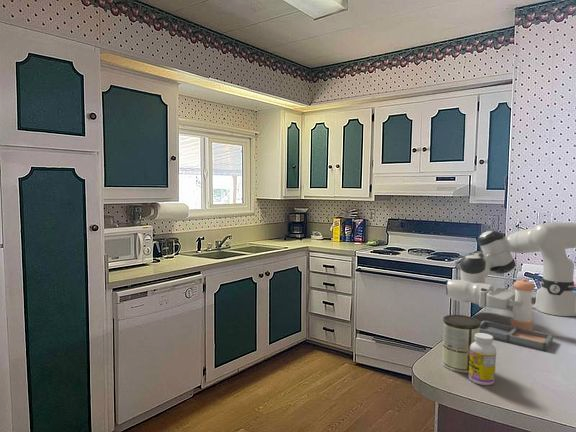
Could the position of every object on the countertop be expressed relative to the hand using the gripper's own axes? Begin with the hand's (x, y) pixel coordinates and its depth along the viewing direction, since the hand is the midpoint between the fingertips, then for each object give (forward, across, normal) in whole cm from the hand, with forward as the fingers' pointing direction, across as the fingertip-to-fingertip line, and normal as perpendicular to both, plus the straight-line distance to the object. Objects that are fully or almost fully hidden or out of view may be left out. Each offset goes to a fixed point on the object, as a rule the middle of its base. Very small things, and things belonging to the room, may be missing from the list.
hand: (525, 301), depth 162 cm
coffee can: (-7, +51, -11) cm, 53 cm away
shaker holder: (-1, +14, -10) cm, 18 cm away
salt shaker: (-1, 0, -11) cm, 11 cm away
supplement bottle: (+1, +57, -11) cm, 58 cm away
